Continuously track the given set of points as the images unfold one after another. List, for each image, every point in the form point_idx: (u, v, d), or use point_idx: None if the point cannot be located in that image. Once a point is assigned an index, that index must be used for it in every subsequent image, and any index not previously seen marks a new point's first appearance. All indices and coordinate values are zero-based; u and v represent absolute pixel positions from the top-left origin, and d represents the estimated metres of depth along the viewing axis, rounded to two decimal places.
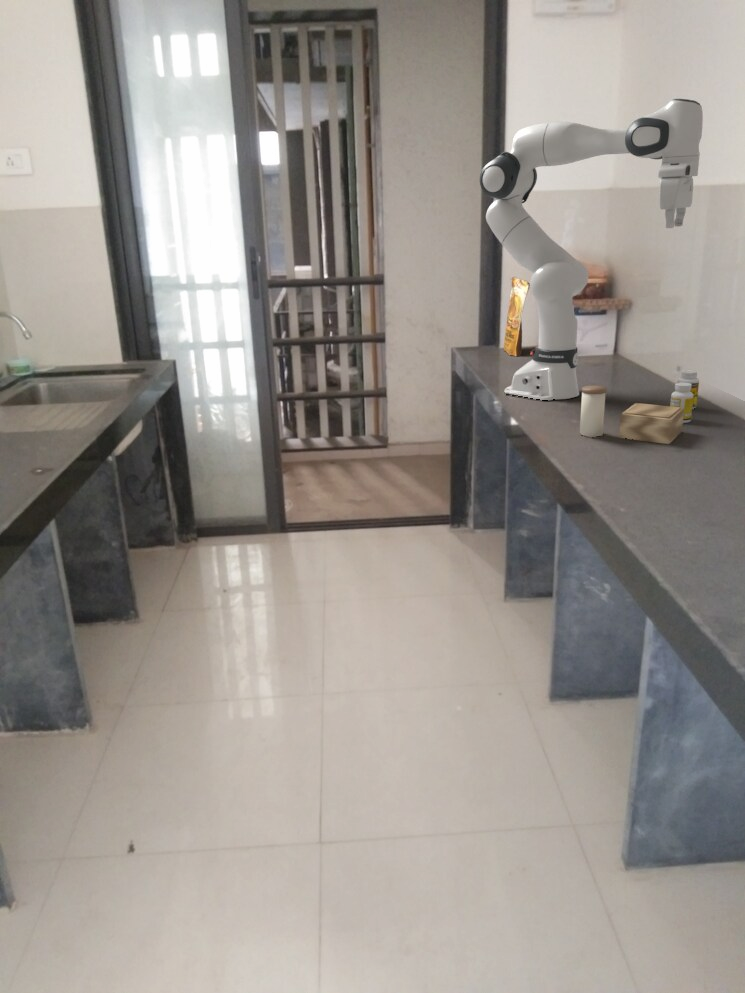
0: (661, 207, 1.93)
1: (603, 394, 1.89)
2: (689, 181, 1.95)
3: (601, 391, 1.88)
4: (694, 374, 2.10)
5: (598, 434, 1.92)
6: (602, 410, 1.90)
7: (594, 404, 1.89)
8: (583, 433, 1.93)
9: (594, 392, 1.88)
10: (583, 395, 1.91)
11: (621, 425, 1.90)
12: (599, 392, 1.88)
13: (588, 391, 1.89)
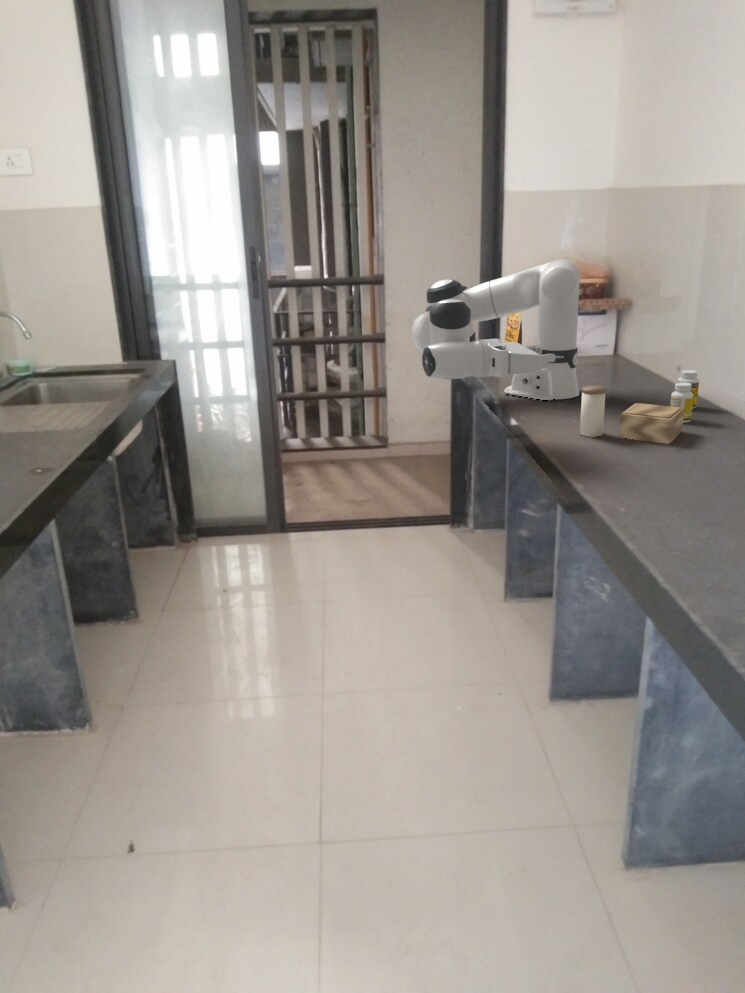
0: (539, 368, 1.77)
1: (603, 394, 1.89)
2: (504, 345, 1.83)
3: (601, 391, 1.88)
4: (694, 374, 2.10)
5: (598, 434, 1.92)
6: (602, 410, 1.90)
7: (594, 404, 1.89)
8: (583, 433, 1.93)
9: (594, 392, 1.88)
10: (583, 395, 1.91)
11: (621, 425, 1.90)
12: (599, 392, 1.88)
13: (588, 391, 1.89)
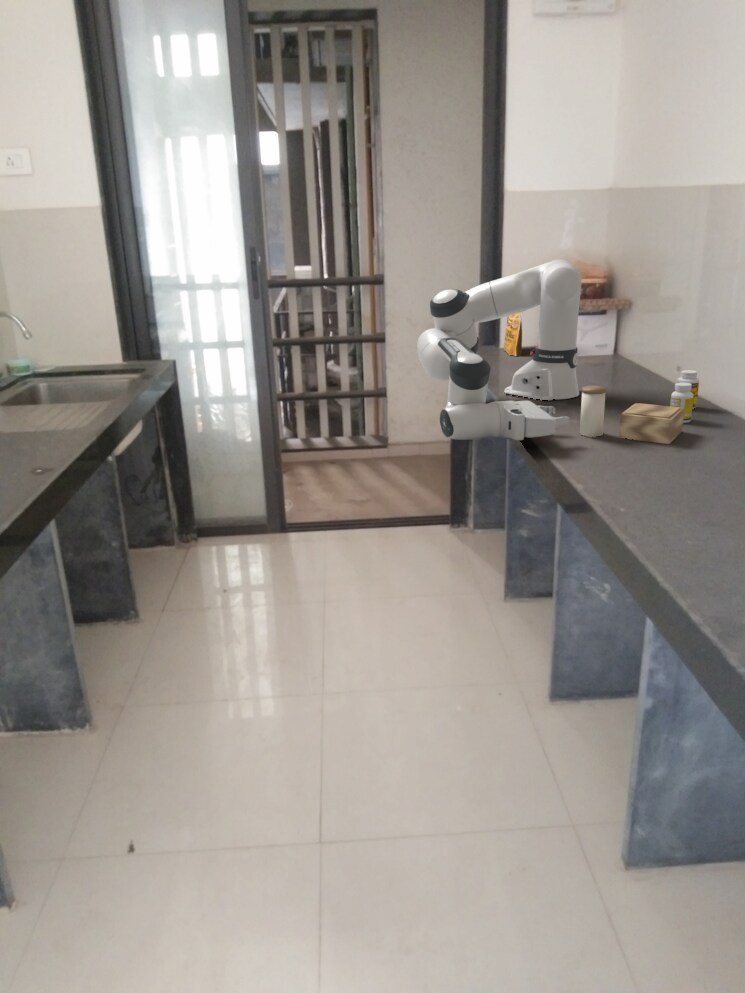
0: (554, 432, 1.82)
1: (603, 394, 1.89)
2: (520, 407, 1.88)
3: (601, 391, 1.88)
4: (694, 374, 2.10)
5: (598, 434, 1.92)
6: (602, 410, 1.90)
7: (594, 404, 1.89)
8: (583, 433, 1.93)
9: (594, 392, 1.88)
10: (583, 395, 1.91)
11: (621, 425, 1.90)
12: (599, 392, 1.88)
13: (588, 391, 1.89)
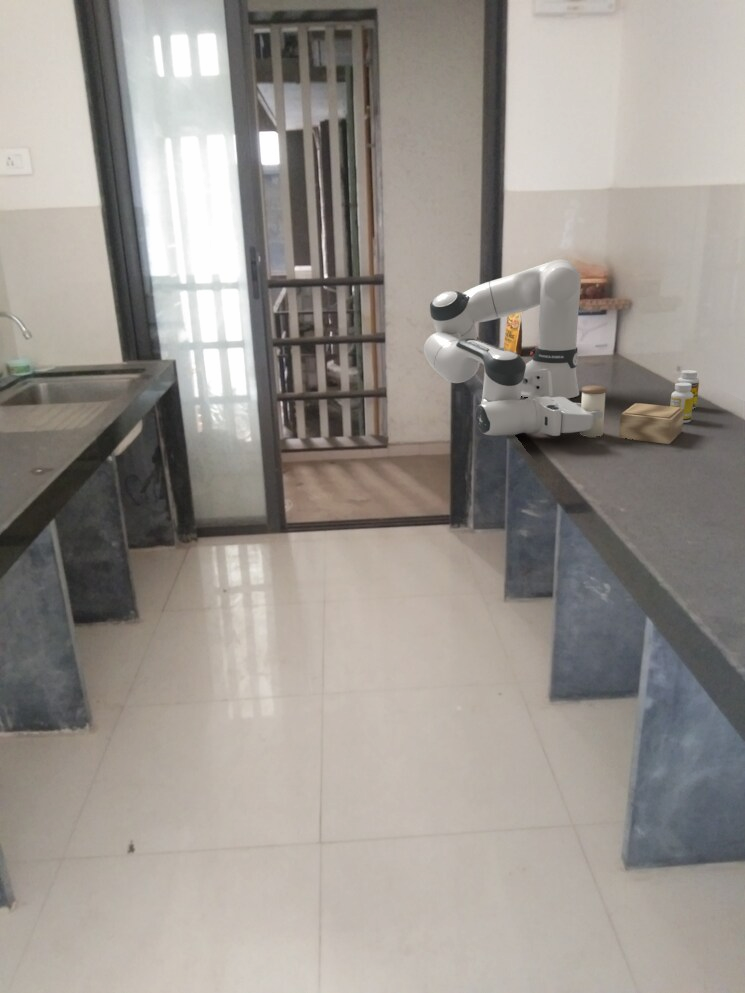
0: (591, 427, 1.84)
1: (603, 394, 1.89)
2: (555, 403, 1.89)
3: (601, 391, 1.88)
4: (694, 374, 2.10)
5: (598, 433, 1.92)
6: (602, 410, 1.90)
7: (594, 403, 1.89)
8: (583, 433, 1.93)
9: (594, 392, 1.88)
10: (583, 395, 1.91)
11: (621, 425, 1.90)
12: (599, 392, 1.88)
13: (588, 391, 1.89)
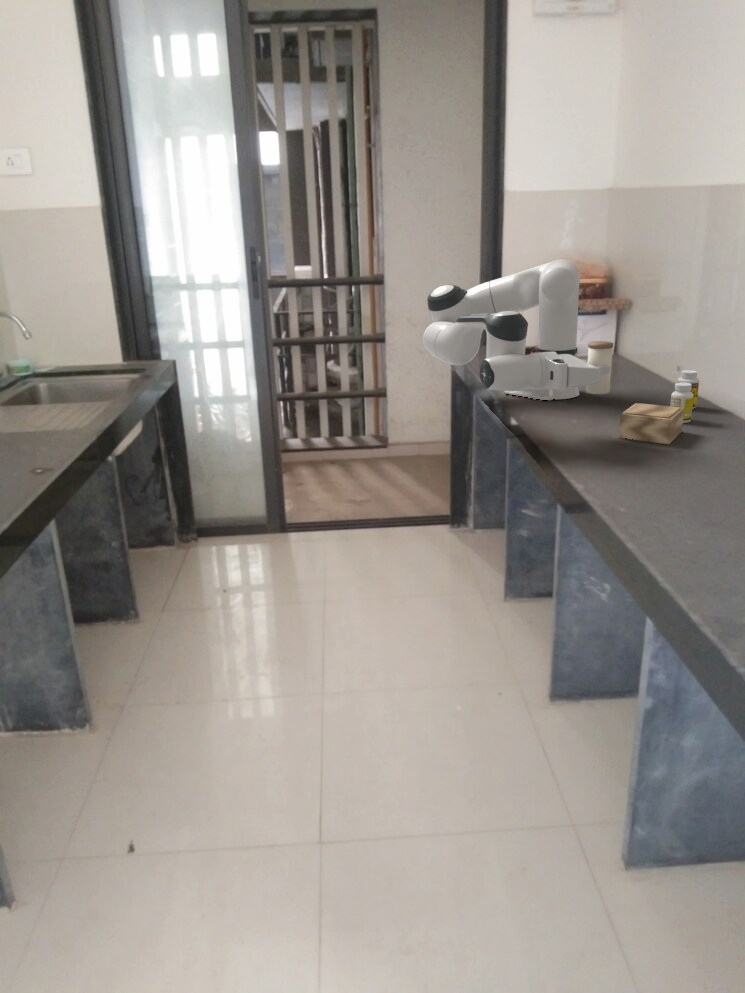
0: (598, 381, 1.79)
1: (610, 349, 1.85)
2: (561, 358, 1.85)
3: (608, 346, 1.84)
4: (694, 374, 2.10)
5: (605, 390, 1.88)
6: (609, 366, 1.86)
7: (601, 359, 1.85)
8: (589, 390, 1.89)
9: (601, 346, 1.84)
10: (589, 350, 1.86)
11: (621, 425, 1.90)
12: (606, 347, 1.84)
13: (595, 346, 1.84)
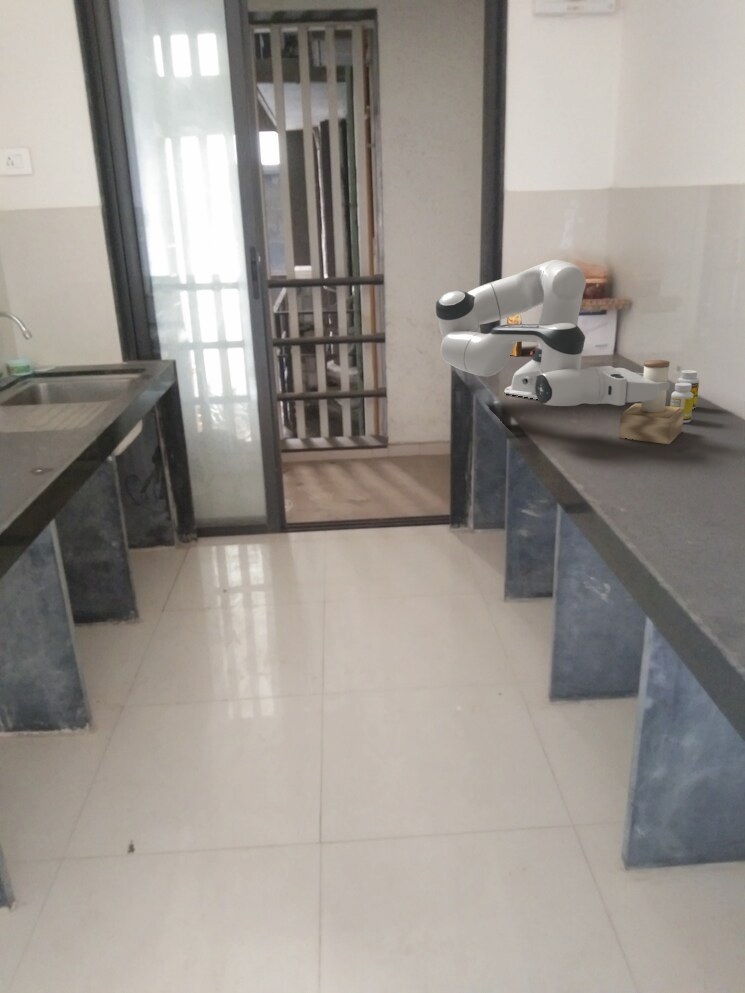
0: (657, 396, 1.79)
1: (667, 368, 1.84)
2: (618, 372, 1.84)
3: (665, 364, 1.84)
4: (694, 374, 2.10)
5: (661, 409, 1.87)
6: None
7: (657, 377, 1.85)
8: (645, 408, 1.88)
9: (658, 365, 1.83)
10: (645, 369, 1.86)
11: (621, 425, 1.90)
12: (663, 365, 1.83)
13: (651, 364, 1.84)
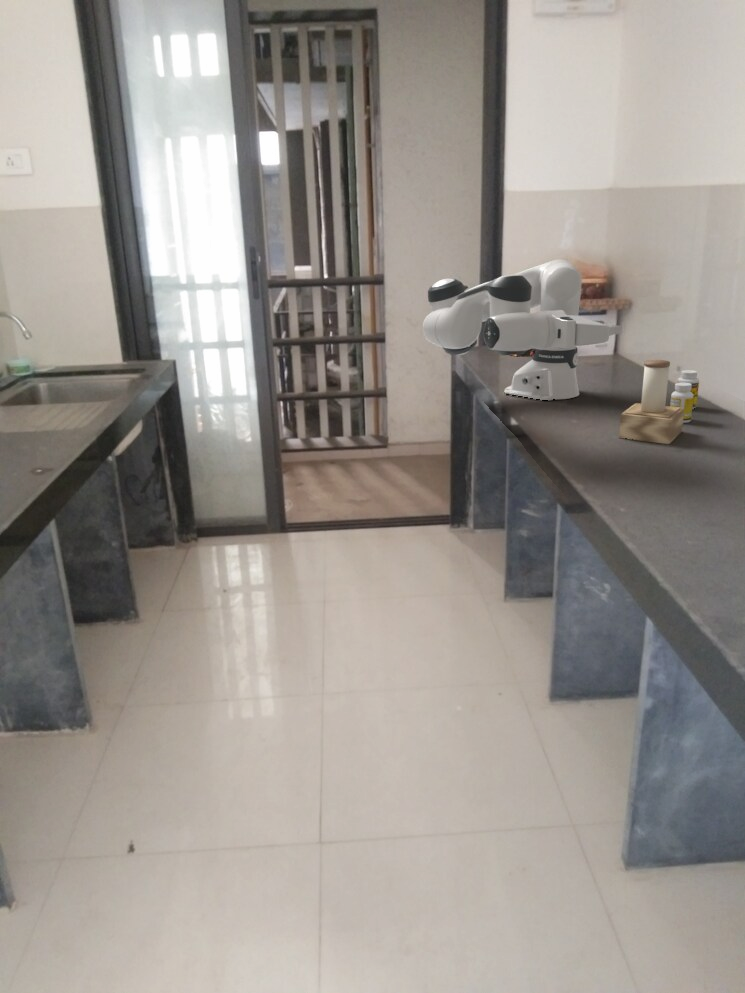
0: (607, 339, 1.72)
1: (667, 368, 1.84)
2: (569, 317, 1.78)
3: (665, 364, 1.84)
4: (694, 374, 2.10)
5: (661, 409, 1.87)
6: (665, 384, 1.86)
7: (658, 377, 1.85)
8: (645, 408, 1.88)
9: (658, 365, 1.83)
10: (646, 369, 1.86)
11: (621, 425, 1.90)
12: (664, 365, 1.83)
13: (652, 364, 1.84)
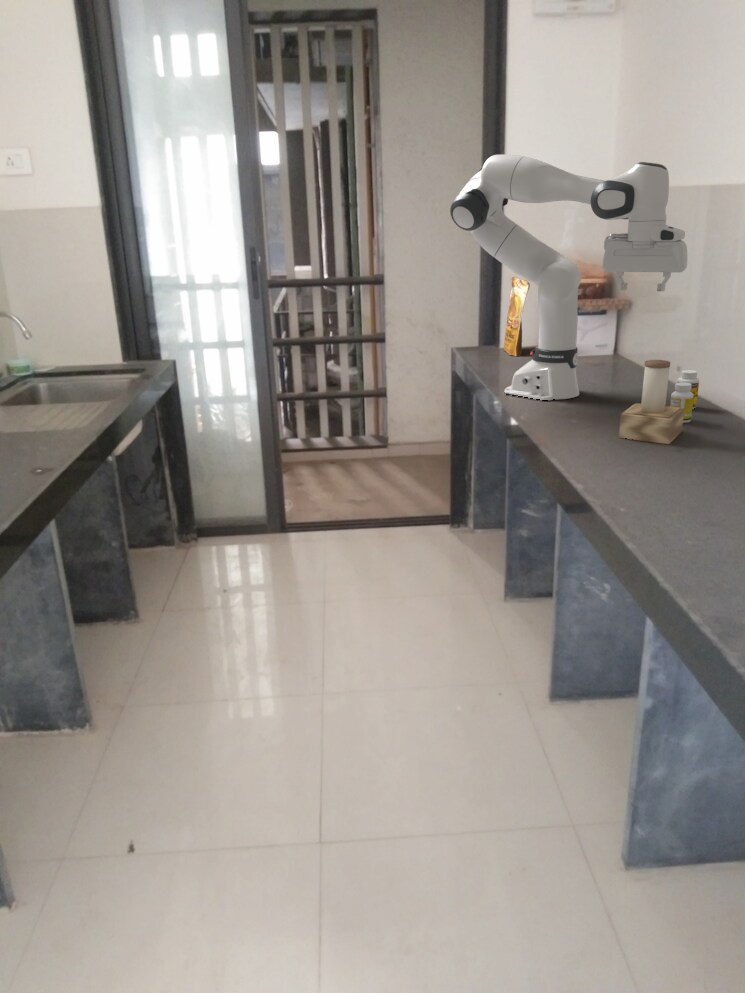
0: (681, 270, 1.88)
1: (667, 368, 1.84)
2: None
3: (666, 365, 1.83)
4: (694, 374, 2.10)
5: (661, 409, 1.87)
6: (666, 385, 1.86)
7: (658, 378, 1.84)
8: (645, 408, 1.88)
9: (659, 366, 1.83)
10: (646, 369, 1.86)
11: (621, 425, 1.90)
12: (664, 366, 1.83)
13: (652, 365, 1.84)
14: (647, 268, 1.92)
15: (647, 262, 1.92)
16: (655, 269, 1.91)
